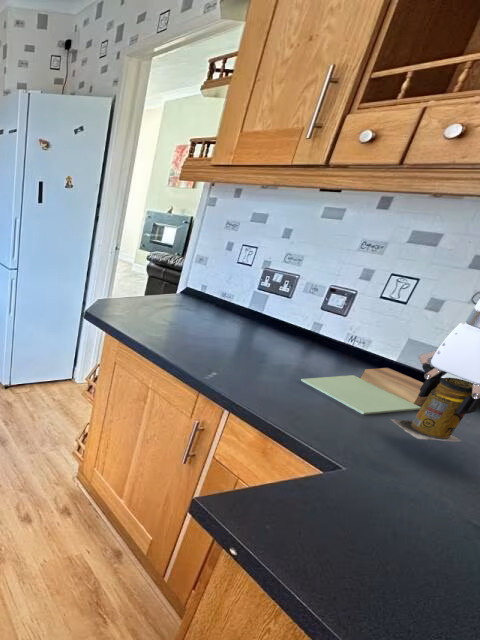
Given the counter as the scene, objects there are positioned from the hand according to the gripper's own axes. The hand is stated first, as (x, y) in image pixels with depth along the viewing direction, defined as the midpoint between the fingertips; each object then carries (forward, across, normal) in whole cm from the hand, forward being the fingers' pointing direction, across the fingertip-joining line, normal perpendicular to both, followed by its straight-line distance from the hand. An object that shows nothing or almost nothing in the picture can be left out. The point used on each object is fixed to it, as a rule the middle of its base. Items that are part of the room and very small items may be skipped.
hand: (443, 403), depth 86 cm
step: (+12, +22, -24) cm, 35 cm away
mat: (+12, +22, -11) cm, 27 cm away
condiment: (+7, 0, 0) cm, 7 cm away
